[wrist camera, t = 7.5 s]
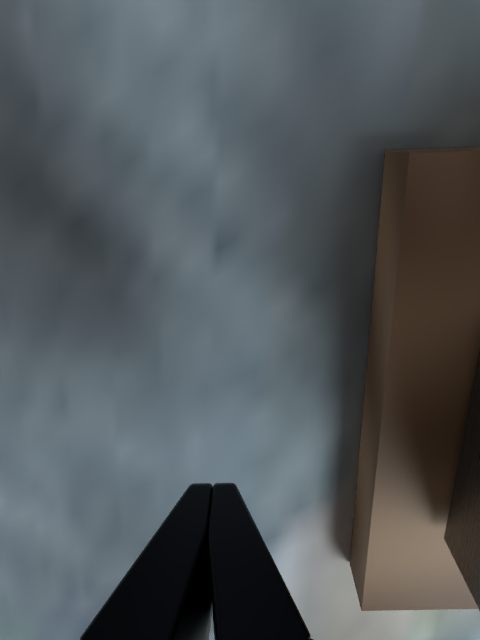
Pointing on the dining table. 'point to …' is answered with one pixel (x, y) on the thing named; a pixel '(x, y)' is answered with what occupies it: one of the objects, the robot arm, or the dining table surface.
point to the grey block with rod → (467, 498)
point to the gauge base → (418, 380)
